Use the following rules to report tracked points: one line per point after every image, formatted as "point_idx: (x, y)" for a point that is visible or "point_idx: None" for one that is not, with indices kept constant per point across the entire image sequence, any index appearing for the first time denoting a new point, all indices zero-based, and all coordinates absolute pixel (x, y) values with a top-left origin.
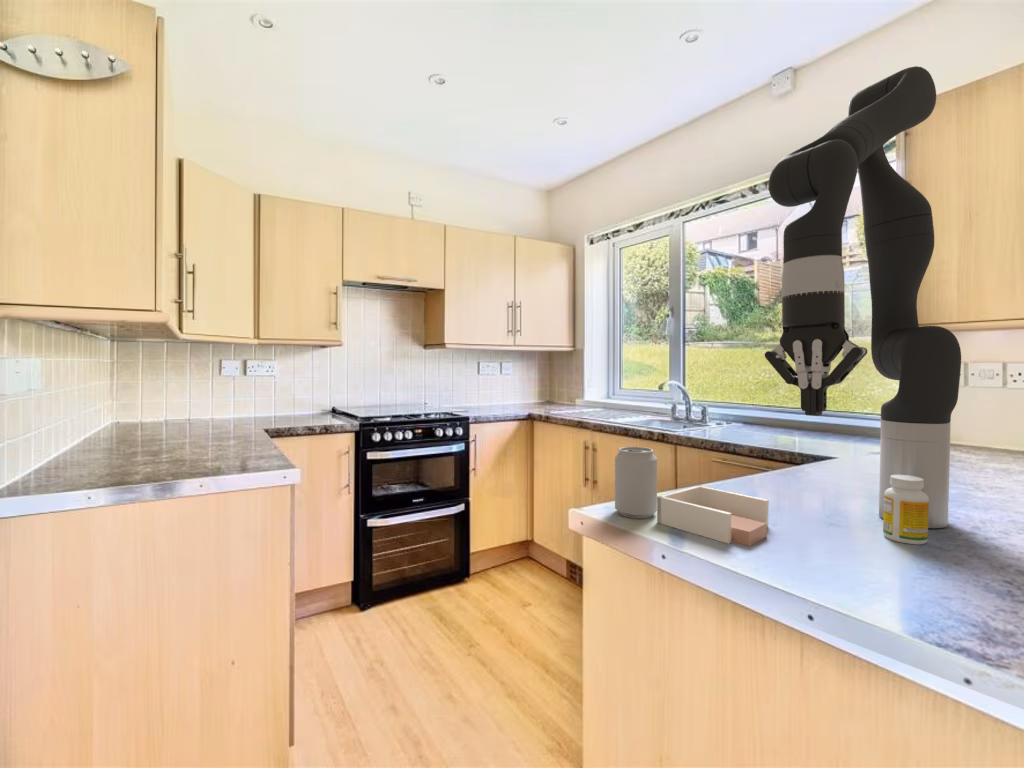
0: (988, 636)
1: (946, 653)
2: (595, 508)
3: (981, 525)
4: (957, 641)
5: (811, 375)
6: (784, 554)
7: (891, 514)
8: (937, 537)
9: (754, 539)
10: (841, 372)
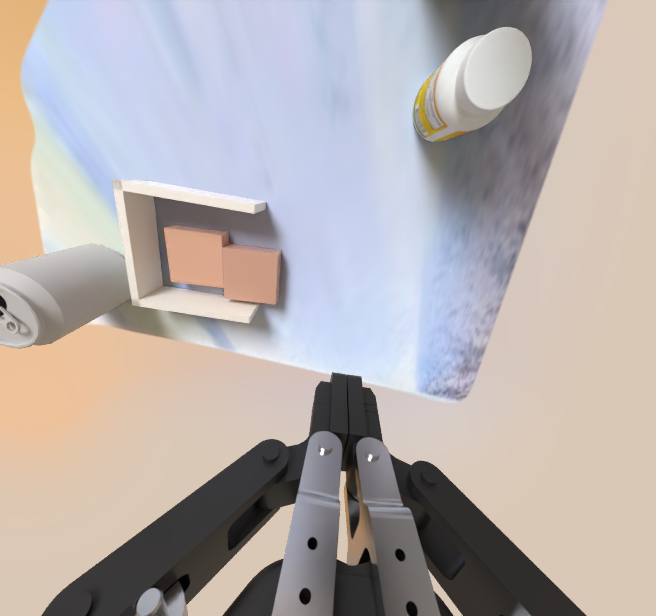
0: (466, 364)
1: (437, 400)
2: None
3: None
4: (446, 382)
5: (332, 491)
6: (317, 298)
7: (434, 129)
8: None
9: (278, 286)
10: (452, 557)
